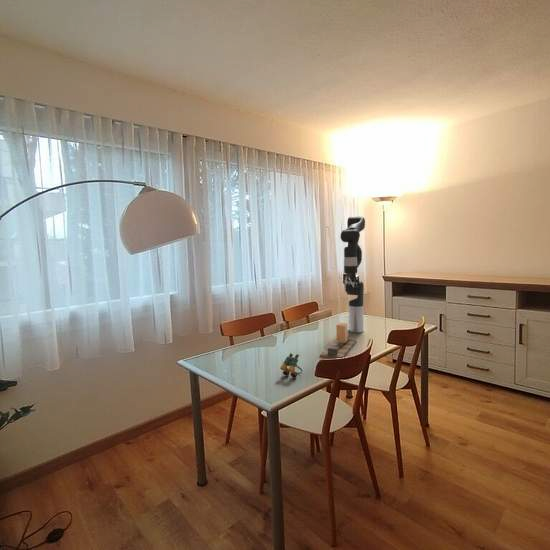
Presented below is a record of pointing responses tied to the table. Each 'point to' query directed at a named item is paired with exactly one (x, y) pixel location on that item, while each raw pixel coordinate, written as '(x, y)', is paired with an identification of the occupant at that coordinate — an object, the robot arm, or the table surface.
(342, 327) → the tan wooden tall block
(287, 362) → the green yellow plastic figure
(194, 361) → the table surface
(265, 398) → the table surface
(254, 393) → the table surface
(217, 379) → the table surface
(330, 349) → the track
